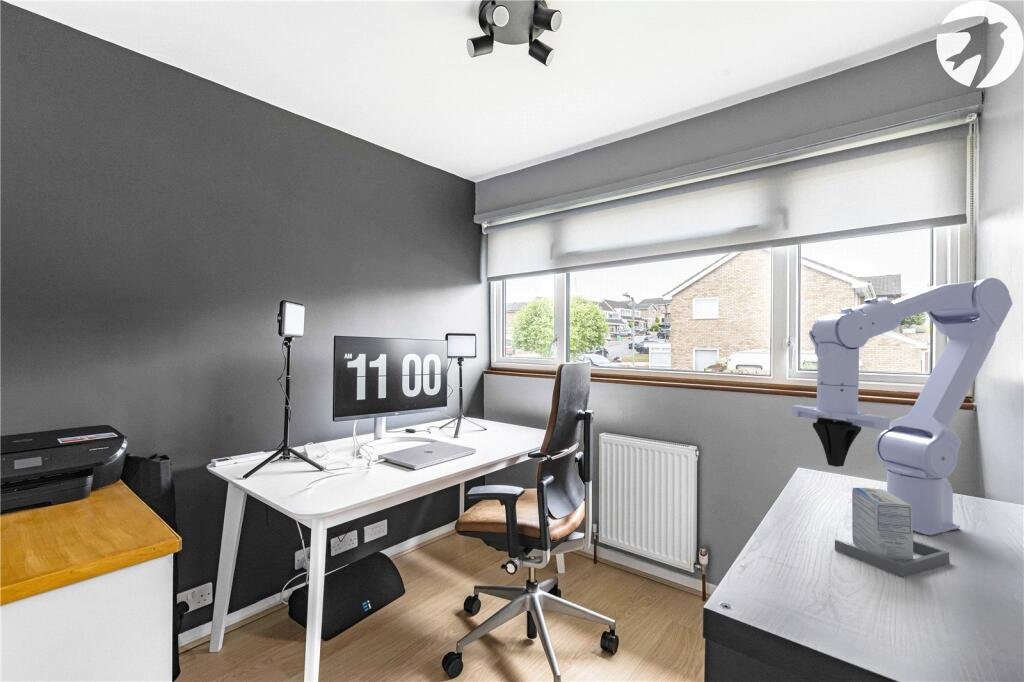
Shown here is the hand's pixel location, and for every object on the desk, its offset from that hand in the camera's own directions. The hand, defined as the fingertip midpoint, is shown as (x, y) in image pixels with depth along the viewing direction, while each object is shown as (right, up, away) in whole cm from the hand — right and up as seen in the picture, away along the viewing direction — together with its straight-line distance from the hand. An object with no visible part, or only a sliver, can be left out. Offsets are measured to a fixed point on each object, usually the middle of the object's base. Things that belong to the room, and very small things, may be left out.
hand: (835, 465), depth 76 cm
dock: (0, -10, -10) cm, 14 cm away
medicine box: (-1, -11, -10) cm, 15 cm away
